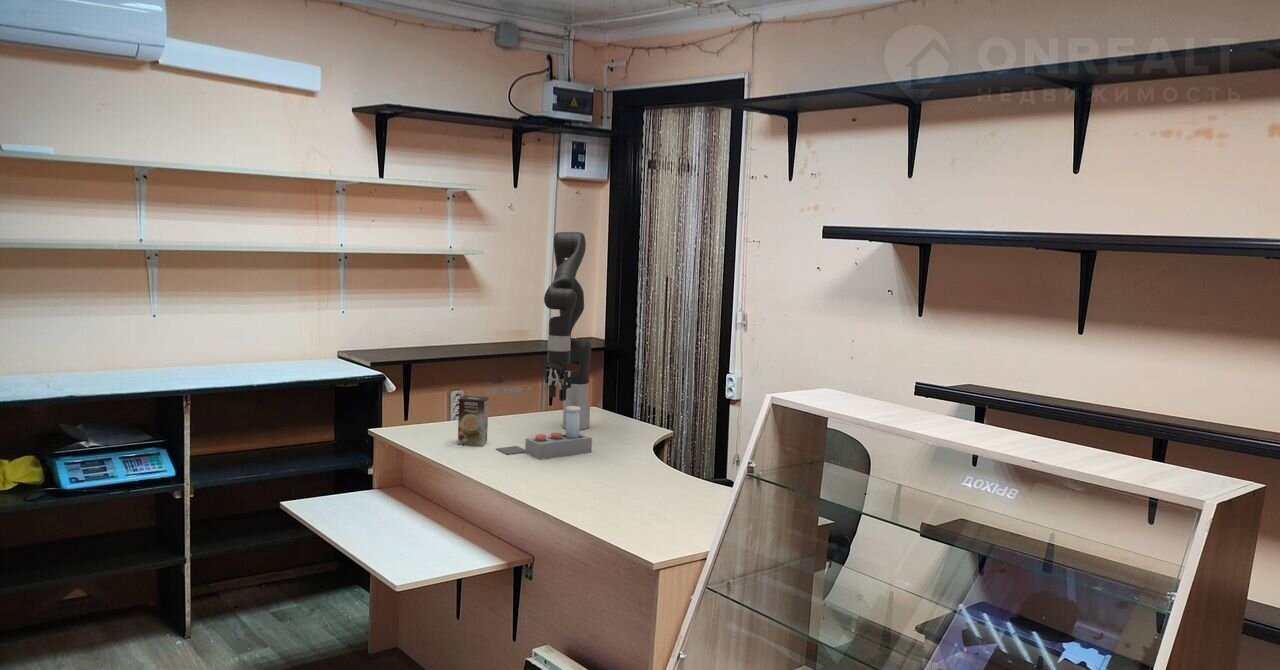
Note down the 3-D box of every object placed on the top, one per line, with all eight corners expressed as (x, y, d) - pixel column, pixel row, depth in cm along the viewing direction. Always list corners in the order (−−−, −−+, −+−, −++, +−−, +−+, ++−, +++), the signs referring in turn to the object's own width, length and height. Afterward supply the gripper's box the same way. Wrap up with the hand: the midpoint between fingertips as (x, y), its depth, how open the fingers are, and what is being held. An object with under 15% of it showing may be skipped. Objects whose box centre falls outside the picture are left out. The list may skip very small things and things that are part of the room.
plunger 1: (541, 449, 308) (542, 433, 308) (547, 452, 306) (547, 435, 305) (533, 451, 306) (533, 434, 305) (538, 453, 303) (538, 437, 303)
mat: (516, 446, 315) (516, 445, 315) (528, 452, 309) (528, 451, 309) (495, 449, 311) (495, 448, 310) (507, 455, 304) (507, 453, 304)
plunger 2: (557, 447, 312) (557, 432, 311) (562, 450, 309) (563, 434, 308) (548, 449, 310) (549, 433, 309) (553, 451, 307) (554, 435, 306)
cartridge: (573, 448, 317) (575, 405, 315) (581, 451, 313) (583, 408, 311) (562, 450, 314) (563, 406, 312) (569, 453, 310) (571, 409, 308)
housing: (576, 446, 320) (577, 432, 319) (591, 452, 313) (592, 437, 312) (525, 453, 308) (525, 438, 307) (539, 459, 301) (539, 444, 300)
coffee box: (456, 444, 315) (457, 398, 313) (462, 440, 321) (463, 395, 319) (483, 446, 314) (484, 400, 312) (488, 442, 320) (489, 396, 318)
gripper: (580, 351, 302) (578, 401, 304) (557, 345, 313) (555, 394, 315) (560, 352, 297) (559, 403, 299) (538, 346, 309) (536, 395, 311)
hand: (557, 398), depth 307 cm, fingers open, 6 cm apart
